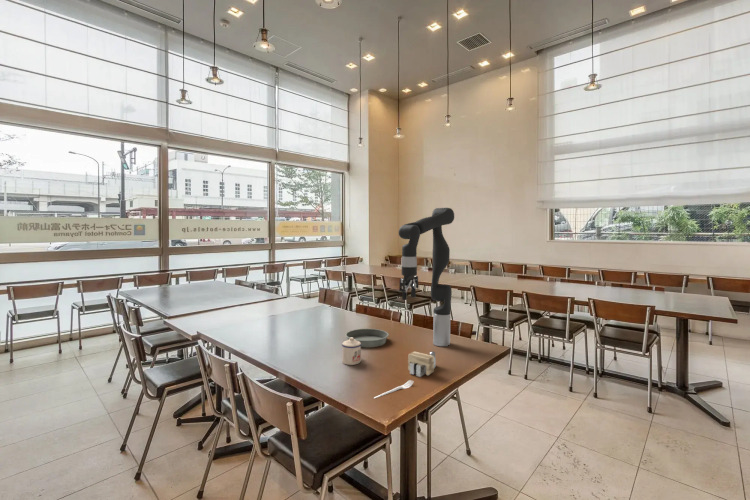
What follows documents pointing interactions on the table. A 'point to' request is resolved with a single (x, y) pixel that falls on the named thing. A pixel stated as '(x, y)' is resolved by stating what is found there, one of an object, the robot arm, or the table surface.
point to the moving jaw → (413, 365)
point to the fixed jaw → (422, 369)
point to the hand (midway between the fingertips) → (409, 298)
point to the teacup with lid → (351, 352)
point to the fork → (397, 388)
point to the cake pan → (368, 337)
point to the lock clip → (422, 361)
